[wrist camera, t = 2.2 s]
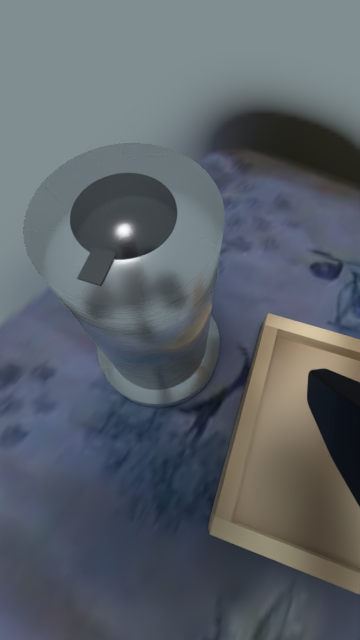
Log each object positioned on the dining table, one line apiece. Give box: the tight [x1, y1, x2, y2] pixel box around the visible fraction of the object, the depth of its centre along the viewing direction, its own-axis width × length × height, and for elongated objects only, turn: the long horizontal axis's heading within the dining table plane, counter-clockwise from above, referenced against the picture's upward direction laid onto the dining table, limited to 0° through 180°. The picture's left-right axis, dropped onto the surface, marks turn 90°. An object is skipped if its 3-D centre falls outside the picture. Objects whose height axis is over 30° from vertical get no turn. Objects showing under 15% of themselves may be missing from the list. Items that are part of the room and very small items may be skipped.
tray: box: [208, 313, 360, 594], centre depth 18 cm, size 12×12×2 cm
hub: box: [23, 143, 225, 408], centre depth 16 cm, size 8×8×13 cm
